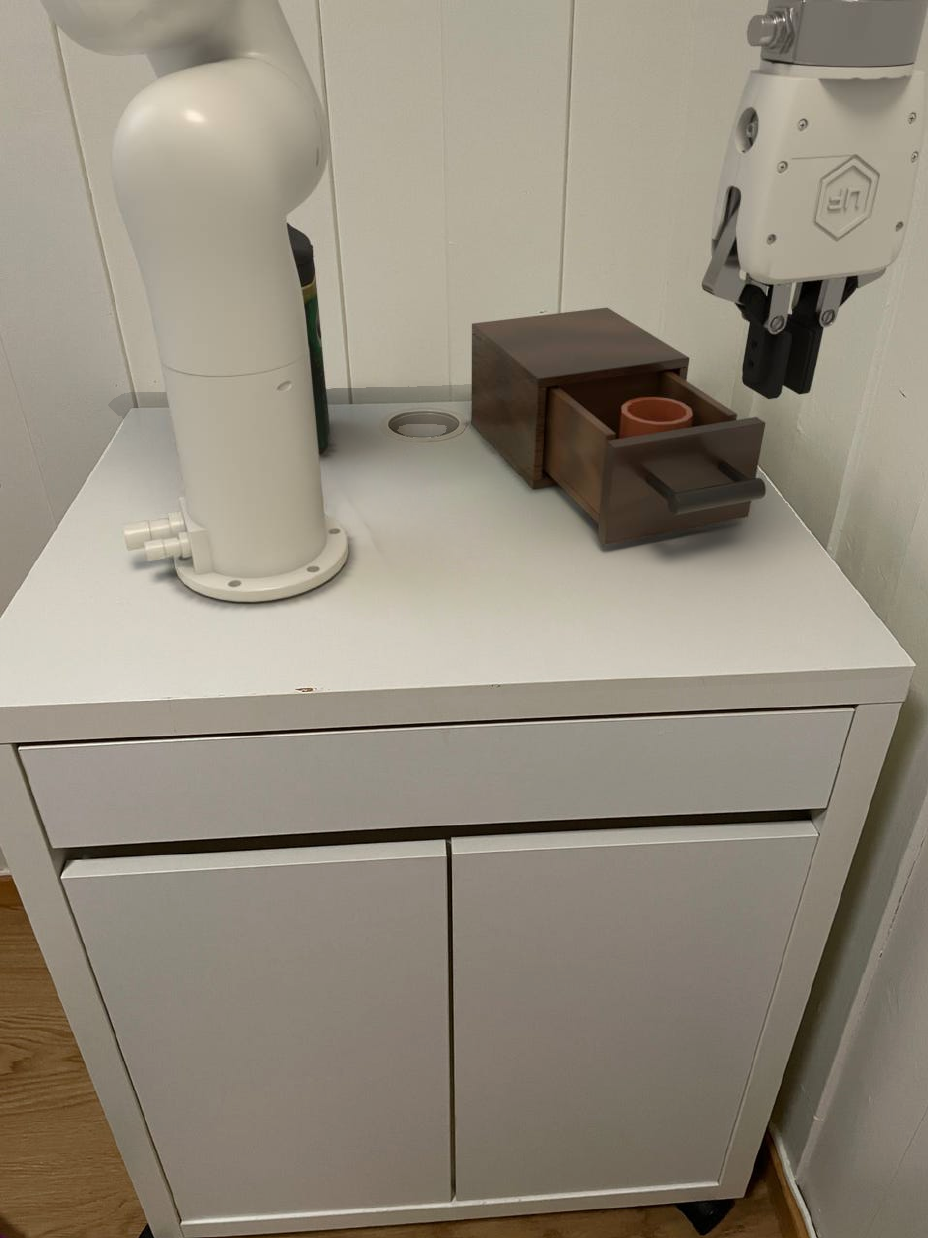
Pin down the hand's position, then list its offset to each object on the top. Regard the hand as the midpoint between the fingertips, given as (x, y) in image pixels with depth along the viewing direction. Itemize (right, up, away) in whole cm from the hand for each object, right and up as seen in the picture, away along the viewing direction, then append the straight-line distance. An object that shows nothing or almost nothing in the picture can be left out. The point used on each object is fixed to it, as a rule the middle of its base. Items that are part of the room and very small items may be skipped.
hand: (775, 386), depth 60 cm
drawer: (-4, -5, +18) cm, 19 cm away
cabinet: (-9, +2, +29) cm, 31 cm away
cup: (-4, -3, +19) cm, 19 cm away
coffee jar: (-35, +2, +30) cm, 46 cm away
